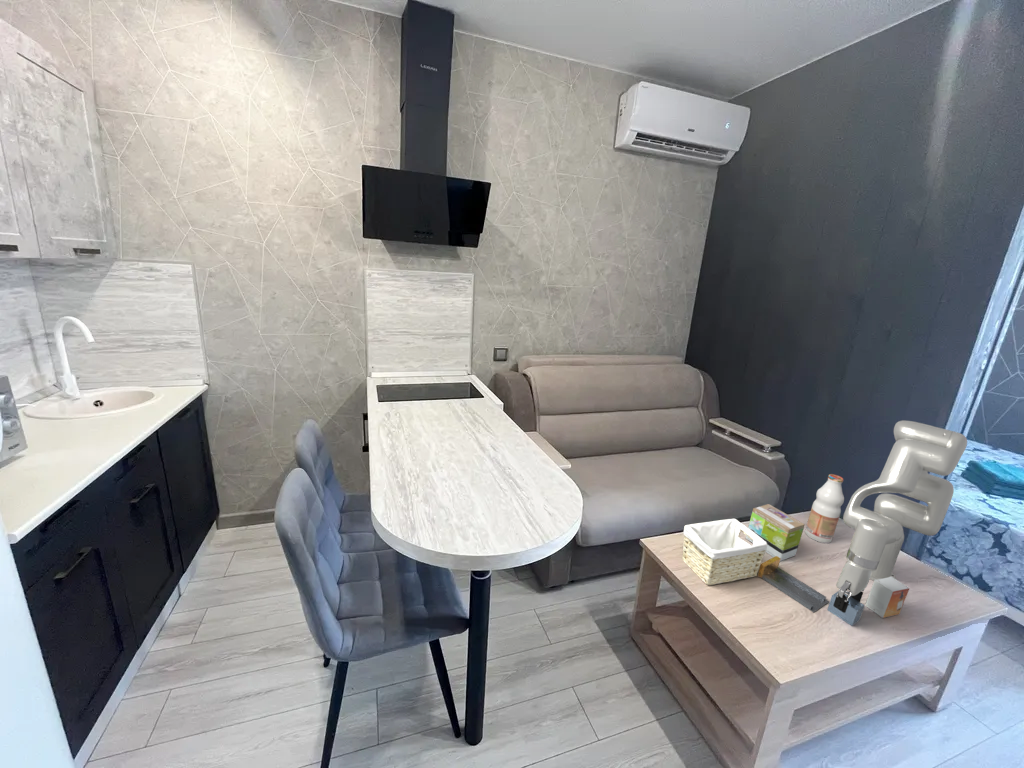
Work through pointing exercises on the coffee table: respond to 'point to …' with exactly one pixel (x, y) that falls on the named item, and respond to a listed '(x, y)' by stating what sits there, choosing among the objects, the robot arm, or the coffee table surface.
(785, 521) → the tea box
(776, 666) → the coffee table surface
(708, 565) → the storage basket
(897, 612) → the small box
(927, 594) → the coffee table surface
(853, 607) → the block
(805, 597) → the dock
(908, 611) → the coffee table surface
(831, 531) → the fruit juice
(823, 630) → the coffee table surface
